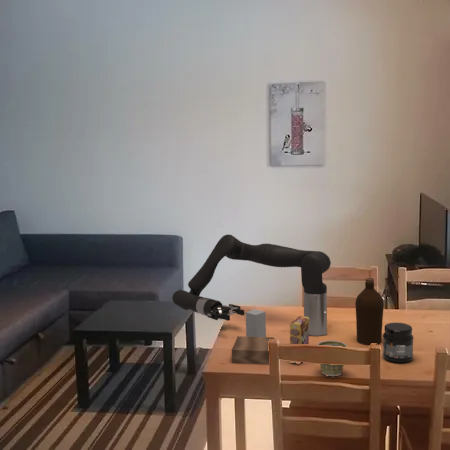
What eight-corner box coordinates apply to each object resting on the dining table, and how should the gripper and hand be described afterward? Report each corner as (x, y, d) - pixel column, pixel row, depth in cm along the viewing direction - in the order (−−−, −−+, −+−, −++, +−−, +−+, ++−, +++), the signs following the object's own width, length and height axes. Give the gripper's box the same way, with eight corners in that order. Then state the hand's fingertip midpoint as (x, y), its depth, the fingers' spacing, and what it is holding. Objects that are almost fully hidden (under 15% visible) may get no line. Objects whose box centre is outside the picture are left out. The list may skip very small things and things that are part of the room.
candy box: (300, 365, 216) (300, 324, 214) (289, 363, 218) (288, 322, 216) (309, 356, 224) (309, 317, 221) (298, 355, 226) (298, 315, 223)
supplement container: (396, 350, 227) (397, 320, 225) (419, 359, 218) (420, 327, 216) (376, 357, 222) (376, 325, 220) (399, 366, 213) (399, 333, 211)
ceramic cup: (314, 377, 206) (314, 349, 204) (320, 366, 215) (320, 339, 214) (353, 382, 201) (353, 353, 200) (357, 370, 211) (358, 343, 209)
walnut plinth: (274, 350, 232) (274, 337, 231) (270, 364, 218) (270, 351, 217) (237, 348, 234) (237, 336, 233) (232, 362, 220) (231, 349, 220)
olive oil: (377, 347, 231) (378, 283, 227) (351, 342, 237) (351, 280, 232) (386, 338, 240) (387, 277, 235) (360, 334, 245) (361, 274, 241)
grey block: (255, 337, 246) (255, 308, 244) (266, 340, 242) (265, 311, 240) (246, 341, 242) (245, 312, 240) (256, 344, 238) (256, 315, 236)
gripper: (196, 302, 253) (224, 310, 242) (220, 295, 263) (248, 302, 252) (197, 320, 255) (224, 328, 243) (221, 312, 264) (248, 320, 253)
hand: (236, 315), depth 248 cm, fingers open, 8 cm apart
